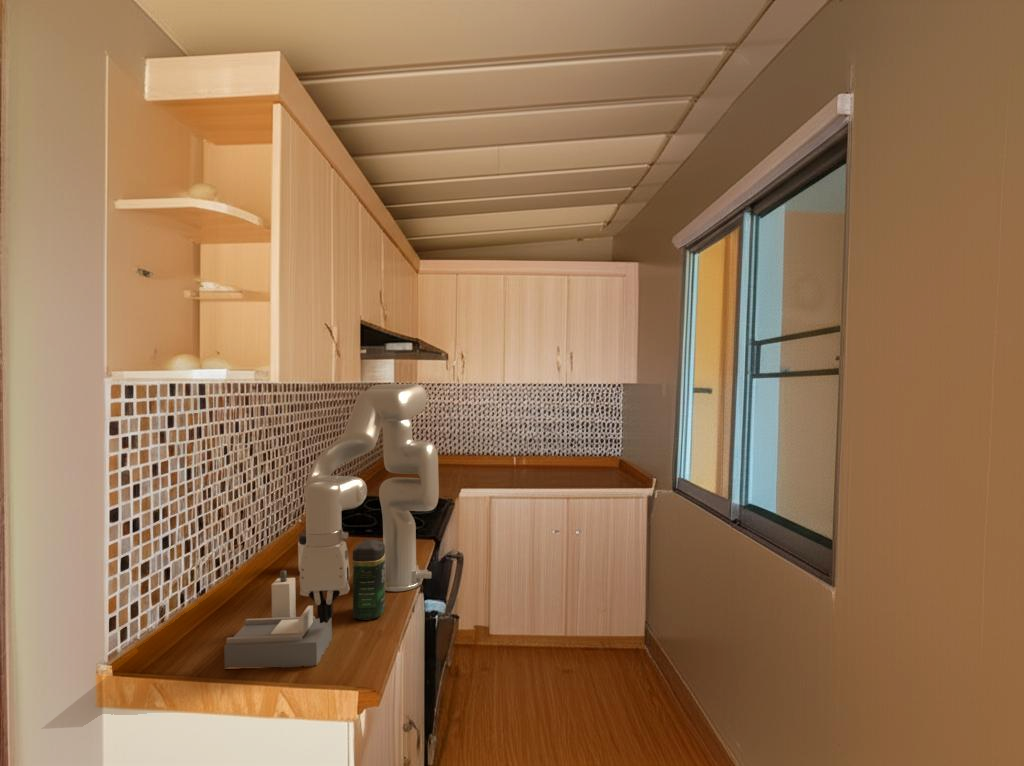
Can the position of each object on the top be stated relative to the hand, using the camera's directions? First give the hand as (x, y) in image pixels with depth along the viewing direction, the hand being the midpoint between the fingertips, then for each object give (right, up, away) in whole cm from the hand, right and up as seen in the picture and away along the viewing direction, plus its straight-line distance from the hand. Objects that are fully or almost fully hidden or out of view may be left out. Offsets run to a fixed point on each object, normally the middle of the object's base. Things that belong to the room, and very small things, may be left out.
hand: (325, 620), depth 123 cm
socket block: (-10, -7, -1) cm, 12 cm away
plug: (-14, -7, +11) cm, 19 cm away
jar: (-22, -8, +54) cm, 59 cm away
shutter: (-7, -2, 0) cm, 8 cm away
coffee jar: (+5, -7, +20) cm, 22 cm away
